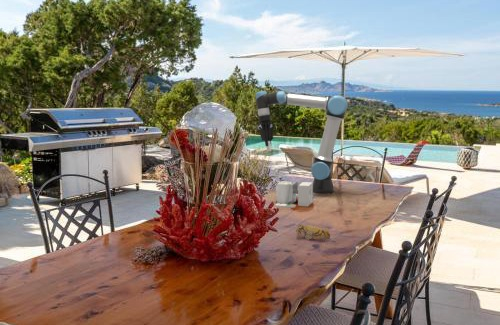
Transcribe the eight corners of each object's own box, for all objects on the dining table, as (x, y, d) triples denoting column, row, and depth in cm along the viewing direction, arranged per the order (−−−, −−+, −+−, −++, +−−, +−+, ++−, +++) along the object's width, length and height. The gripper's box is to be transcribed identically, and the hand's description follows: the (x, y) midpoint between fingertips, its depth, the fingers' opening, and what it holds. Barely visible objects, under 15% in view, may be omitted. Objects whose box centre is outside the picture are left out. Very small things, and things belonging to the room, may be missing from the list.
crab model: (334, 236, 210) (335, 224, 209) (325, 243, 199) (325, 231, 198) (302, 231, 217) (302, 220, 216) (291, 238, 206) (292, 226, 205)
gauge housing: (275, 206, 268) (275, 186, 266) (283, 200, 285) (283, 180, 284) (305, 208, 262) (306, 187, 260) (312, 202, 279) (312, 182, 278)
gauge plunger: (286, 206, 267) (286, 186, 265) (294, 200, 283) (294, 181, 282) (303, 207, 263) (304, 187, 262) (310, 201, 280) (310, 182, 278)
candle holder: (292, 204, 274) (292, 184, 273) (275, 204, 275) (275, 184, 273) (291, 200, 284) (291, 181, 282) (275, 200, 284) (275, 181, 283)
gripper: (268, 115, 310) (273, 150, 310) (252, 116, 302) (258, 152, 303) (275, 113, 303) (280, 149, 304) (259, 115, 296) (264, 151, 297)
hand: (269, 151), depth 304 cm, fingers closed
